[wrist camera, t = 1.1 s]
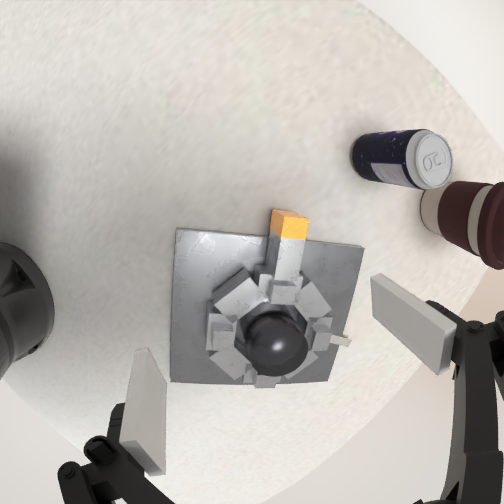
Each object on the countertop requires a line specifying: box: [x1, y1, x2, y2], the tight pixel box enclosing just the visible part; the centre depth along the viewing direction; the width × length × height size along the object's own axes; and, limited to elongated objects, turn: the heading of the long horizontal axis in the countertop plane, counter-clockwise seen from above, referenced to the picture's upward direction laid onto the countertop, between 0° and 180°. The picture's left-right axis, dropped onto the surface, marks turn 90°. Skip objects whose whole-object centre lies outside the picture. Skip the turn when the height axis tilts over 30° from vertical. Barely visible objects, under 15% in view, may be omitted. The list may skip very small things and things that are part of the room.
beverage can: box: [353, 129, 453, 190], centre depth 28 cm, size 6×6×12 cm
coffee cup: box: [421, 181, 504, 270], centre depth 30 cm, size 10×10×15 cm
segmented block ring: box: [205, 209, 333, 388], centre depth 33 cm, size 14×20×5 cm
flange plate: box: [171, 228, 364, 385], centre depth 33 cm, size 24×23×8 cm
